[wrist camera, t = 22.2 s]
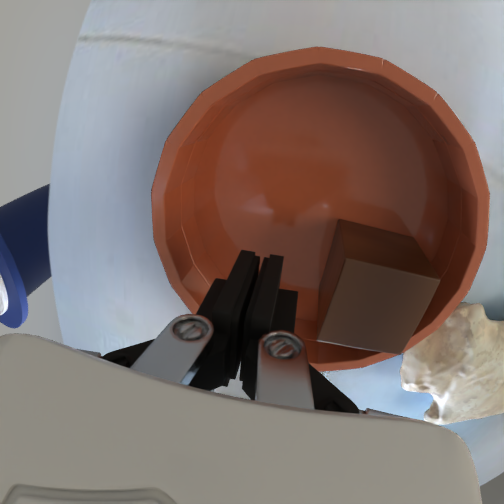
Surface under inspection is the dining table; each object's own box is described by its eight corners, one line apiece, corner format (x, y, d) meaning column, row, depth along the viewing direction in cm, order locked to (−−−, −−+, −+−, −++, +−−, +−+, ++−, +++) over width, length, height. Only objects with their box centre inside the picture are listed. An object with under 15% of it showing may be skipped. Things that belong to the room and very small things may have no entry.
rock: (466, 247, 15) (569, 332, 15) (354, 382, 21) (486, 417, 22) (492, 279, 12) (584, 357, 12) (356, 420, 18) (494, 442, 18)
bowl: (190, 298, 21) (164, 340, 17) (194, 58, 14) (154, 45, 10) (407, 333, 19) (419, 381, 15) (473, 105, 11) (518, 109, 7)
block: (318, 289, 17) (315, 341, 13) (338, 217, 15) (345, 257, 11) (387, 303, 17) (400, 355, 13) (414, 237, 15) (441, 280, 11)
